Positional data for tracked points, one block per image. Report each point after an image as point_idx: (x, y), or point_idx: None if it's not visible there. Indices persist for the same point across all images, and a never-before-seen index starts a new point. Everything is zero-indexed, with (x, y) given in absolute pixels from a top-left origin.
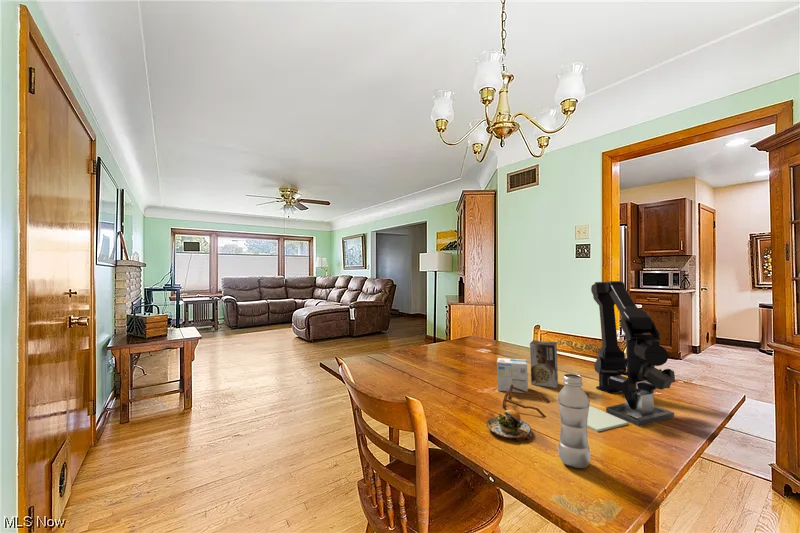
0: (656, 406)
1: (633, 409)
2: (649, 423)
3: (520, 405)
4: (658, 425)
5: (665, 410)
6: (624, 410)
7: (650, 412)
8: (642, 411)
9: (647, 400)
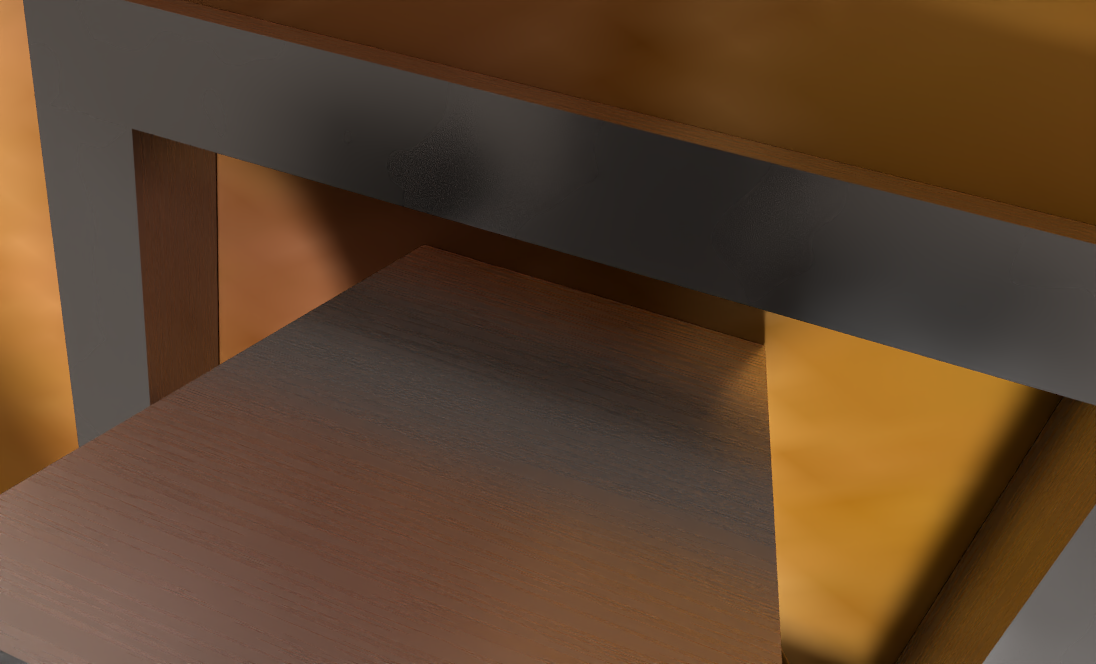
0: (73, 324)
1: None
2: (893, 179)
3: None
4: (826, 9)
5: (86, 143)
6: None
7: (471, 308)
8: (754, 430)
9: (435, 538)
